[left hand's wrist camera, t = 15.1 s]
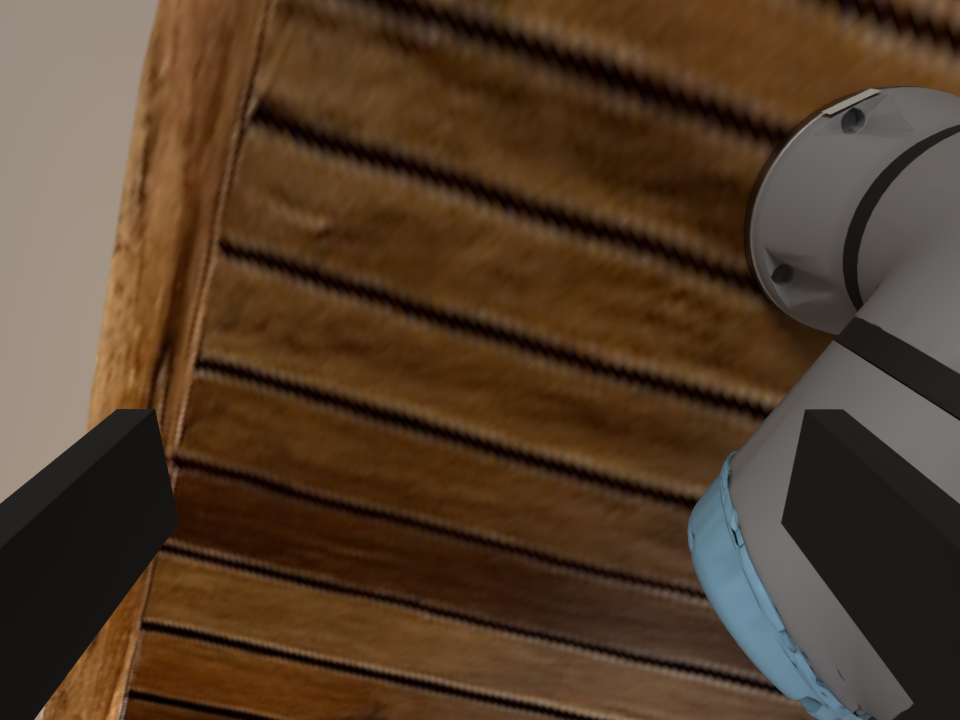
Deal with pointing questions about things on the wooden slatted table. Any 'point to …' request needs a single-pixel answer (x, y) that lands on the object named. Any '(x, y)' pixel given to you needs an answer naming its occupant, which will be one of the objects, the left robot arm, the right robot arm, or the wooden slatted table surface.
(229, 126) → the wooden slatted table surface
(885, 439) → the left robot arm
